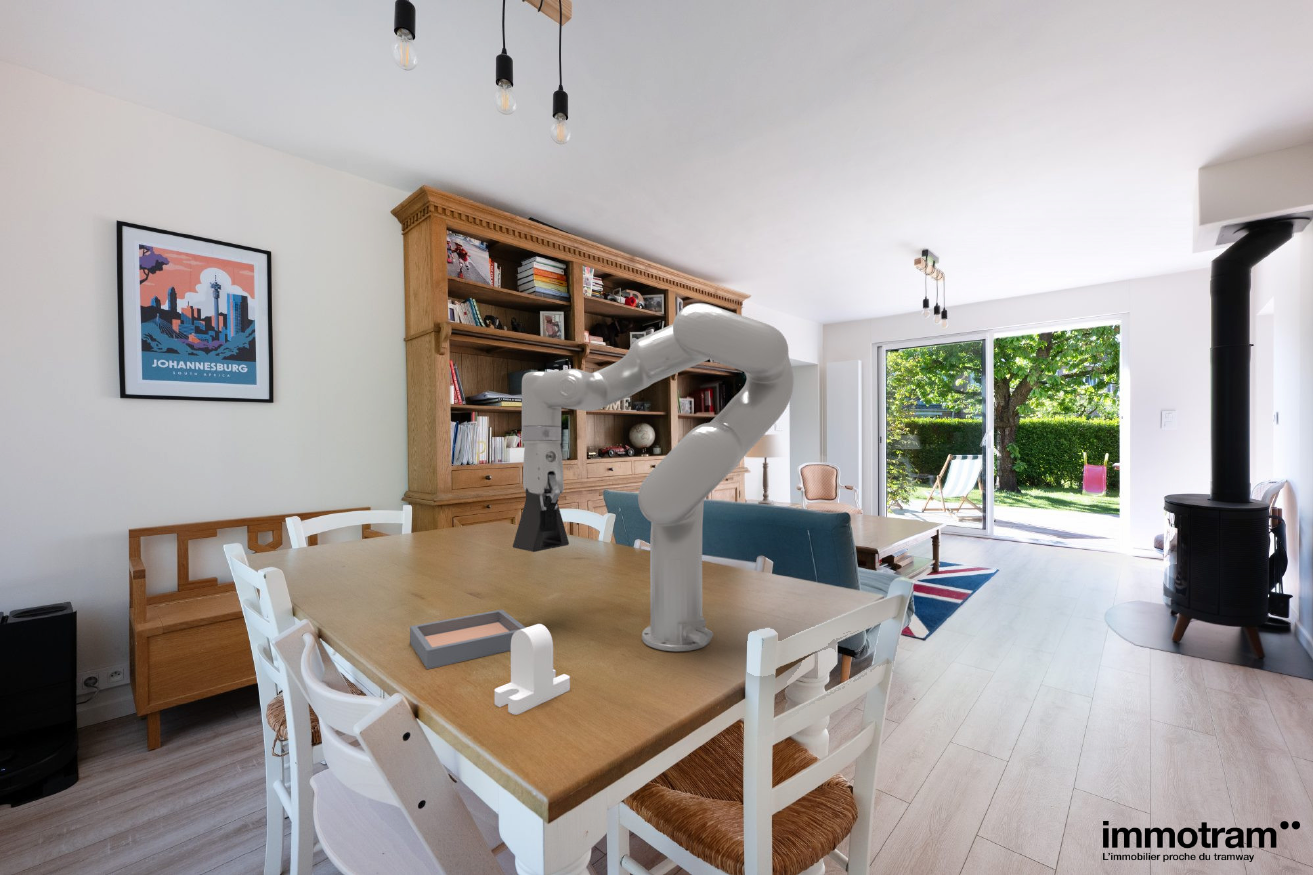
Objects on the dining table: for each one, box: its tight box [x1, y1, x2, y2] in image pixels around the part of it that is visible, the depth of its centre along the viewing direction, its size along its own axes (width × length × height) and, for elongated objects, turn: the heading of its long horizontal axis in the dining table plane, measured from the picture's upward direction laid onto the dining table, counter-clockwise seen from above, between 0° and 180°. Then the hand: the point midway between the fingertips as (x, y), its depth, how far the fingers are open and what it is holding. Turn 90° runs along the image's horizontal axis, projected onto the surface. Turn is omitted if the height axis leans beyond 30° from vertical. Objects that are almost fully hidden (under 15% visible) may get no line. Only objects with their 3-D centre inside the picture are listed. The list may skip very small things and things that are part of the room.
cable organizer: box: [494, 623, 571, 716], centre depth 79 cm, size 5×10×10 cm, turn 140°
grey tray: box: [409, 609, 527, 670], centre depth 99 cm, size 14×17×3 cm
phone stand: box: [512, 488, 570, 553], centre depth 107 cm, size 9×6×12 cm, turn 141°
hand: (541, 527), depth 107 cm, fingers closed on phone stand, 6 cm apart
